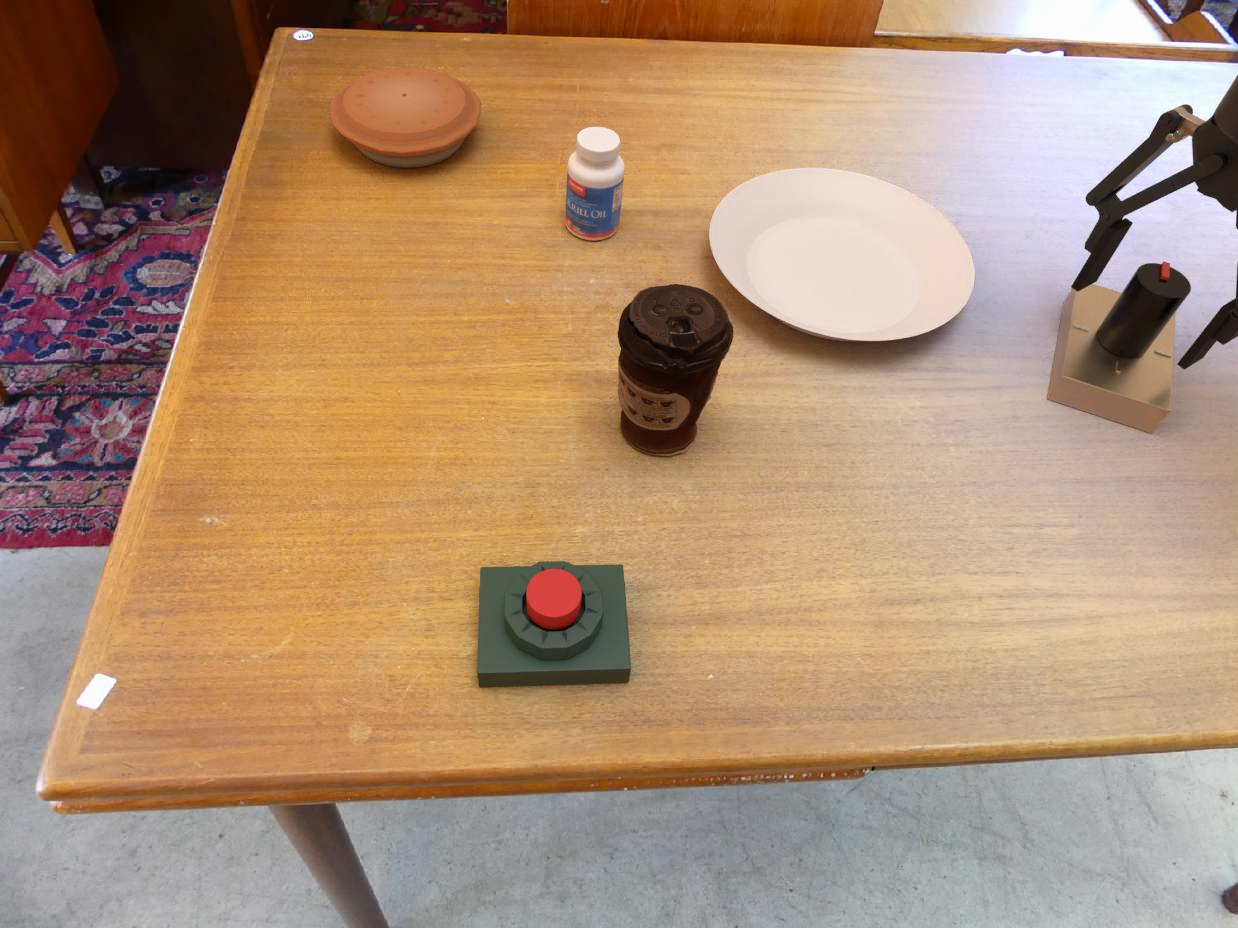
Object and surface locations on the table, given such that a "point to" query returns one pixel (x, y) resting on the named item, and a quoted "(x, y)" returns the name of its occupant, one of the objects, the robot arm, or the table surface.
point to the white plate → (841, 254)
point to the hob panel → (1109, 366)
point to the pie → (405, 115)
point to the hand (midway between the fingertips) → (1134, 321)
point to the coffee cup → (669, 364)
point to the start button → (553, 599)
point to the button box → (552, 630)
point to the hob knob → (1143, 309)
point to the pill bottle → (594, 184)
